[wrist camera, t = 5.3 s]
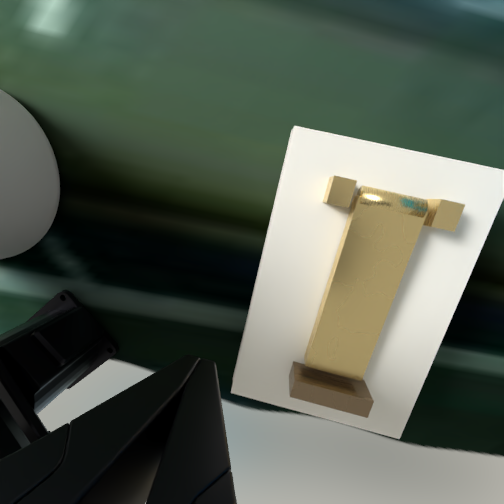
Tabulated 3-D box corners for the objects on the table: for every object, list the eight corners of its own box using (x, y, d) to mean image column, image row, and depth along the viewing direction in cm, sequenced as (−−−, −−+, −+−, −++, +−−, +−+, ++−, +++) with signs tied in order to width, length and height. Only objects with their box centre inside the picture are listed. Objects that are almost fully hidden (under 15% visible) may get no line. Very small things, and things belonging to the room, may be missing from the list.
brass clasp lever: (357, 185, 12) (363, 184, 11) (422, 199, 12) (433, 200, 11) (303, 355, 15) (305, 367, 14) (357, 369, 15) (362, 382, 14)
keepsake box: (289, 143, 17) (294, 112, 11) (448, 177, 17) (553, 166, 10) (241, 347, 21) (222, 415, 14) (371, 381, 20) (414, 469, 14)
